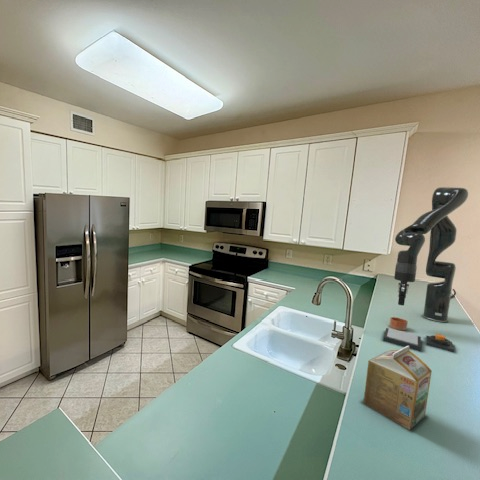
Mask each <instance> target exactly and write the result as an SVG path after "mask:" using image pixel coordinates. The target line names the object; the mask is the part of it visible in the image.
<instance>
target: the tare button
mask: <svg viewBox="0 0 480 480" xmlns="http://www.w3.org/2000/svg"><path fill="white" fill-rule="evenodd" d="M434 336H435V338H436V339H438V340H442V341H445V339H447V338H446V336H445V335H442V334H437V333H436V334H435V335H434Z"/></svg>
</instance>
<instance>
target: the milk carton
mask: <svg viewBox="0 0 480 480" xmlns="http://www.w3.org/2000/svg"><path fill="white" fill-rule="evenodd" d="M431 378H432V369H431V368H430V367H429V366H428V364H427V363H425V362H424V361H423V360H422V359H421V358H420V357H419V356H417V355H416V354H415V353H414V352H412V351H411V349H409V346H406V347H402V348H400V349H392V350H391V349H390V350H387V351H384V352H382V353H380V354H378V355H377V356H374V357H372V358H371V359H369V360H368V362H367V370H366V378H365V379H366V380H365V387H364V396H363V404H364V405H365V406H366V407H367V406H368V407H369V408H371V409H372V410H373V411H376V412H378V413H379V414H380V415H383V416H384V417H387V418H388V419H390V420H392V421H393V422H395V423H397V424H398V425H400V426H402V427H403V428H405V429H407V430H409V431H411V429H413V427H414V428H415V425H417V424H418V423H419V422H420V421H421V420H423V419H424V418H425V416H426V411H427V405H428V398H429V392H430V385H431Z"/></svg>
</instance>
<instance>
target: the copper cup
mask: <svg viewBox="0 0 480 480" xmlns="http://www.w3.org/2000/svg"><path fill="white" fill-rule="evenodd" d="M389 327H390V328H391V329H395V330H399V331H402V332H406V331H407V330H408V320H407V319H403V318H400V317H396V316H392V317H390V319H389Z"/></svg>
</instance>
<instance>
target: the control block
mask: <svg viewBox="0 0 480 480" xmlns="http://www.w3.org/2000/svg"><path fill="white" fill-rule="evenodd" d="M425 340H426V341H425V343H426V346H428V347H431V348H435V349H439V350H443V351H446V352H449V353H450V352H451V353H455V347H454V344H453V341H451V340H449V339H448V338H445V341H442V340H438V339H436V338H435V335H426V336H425Z"/></svg>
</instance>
